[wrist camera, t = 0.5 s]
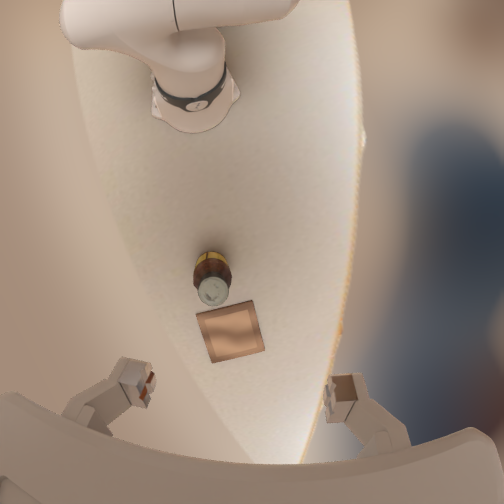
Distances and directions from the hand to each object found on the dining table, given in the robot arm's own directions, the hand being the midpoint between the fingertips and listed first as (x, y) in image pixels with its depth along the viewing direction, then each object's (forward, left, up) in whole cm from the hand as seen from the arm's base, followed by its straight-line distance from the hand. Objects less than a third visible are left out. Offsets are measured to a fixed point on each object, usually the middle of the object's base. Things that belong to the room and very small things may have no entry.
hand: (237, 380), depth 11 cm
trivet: (+17, -3, -43) cm, 47 cm away
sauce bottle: (+2, -3, -44) cm, 44 cm away
